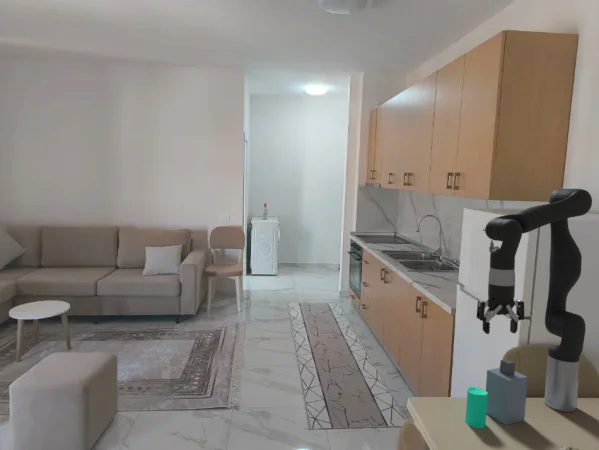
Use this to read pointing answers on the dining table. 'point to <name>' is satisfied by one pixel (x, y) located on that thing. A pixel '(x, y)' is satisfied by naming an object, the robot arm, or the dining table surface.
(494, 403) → the cover
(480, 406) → the candle
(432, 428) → the dining table surface
